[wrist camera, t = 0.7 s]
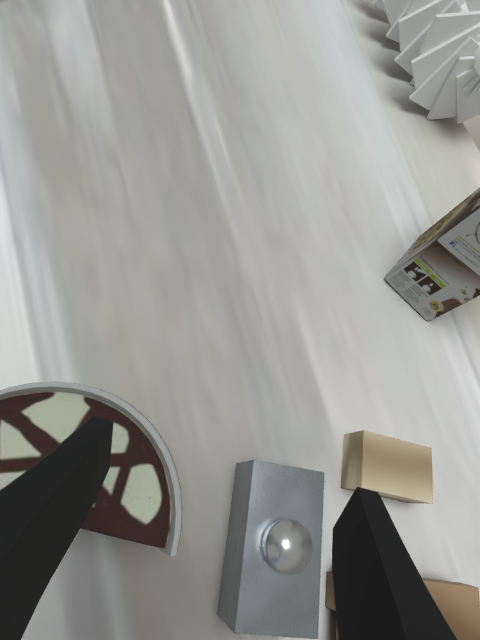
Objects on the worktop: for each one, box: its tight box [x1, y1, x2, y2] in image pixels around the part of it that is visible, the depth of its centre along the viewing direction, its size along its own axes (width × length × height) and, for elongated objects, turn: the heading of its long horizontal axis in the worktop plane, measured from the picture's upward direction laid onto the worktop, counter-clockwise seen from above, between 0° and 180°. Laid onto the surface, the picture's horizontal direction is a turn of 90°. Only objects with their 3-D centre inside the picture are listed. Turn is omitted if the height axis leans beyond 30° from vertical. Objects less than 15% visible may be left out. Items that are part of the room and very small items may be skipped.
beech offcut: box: [341, 430, 433, 504], centre depth 31 cm, size 4×6×3 cm, turn 80°
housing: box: [217, 460, 324, 639], centre depth 26 cm, size 9×5×5 cm, turn 173°
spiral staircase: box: [372, 0, 480, 124], centre depth 49 cm, size 18×18×25 cm
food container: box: [0, 382, 182, 557], centre depth 22 cm, size 12×6×10 cm, turn 77°
